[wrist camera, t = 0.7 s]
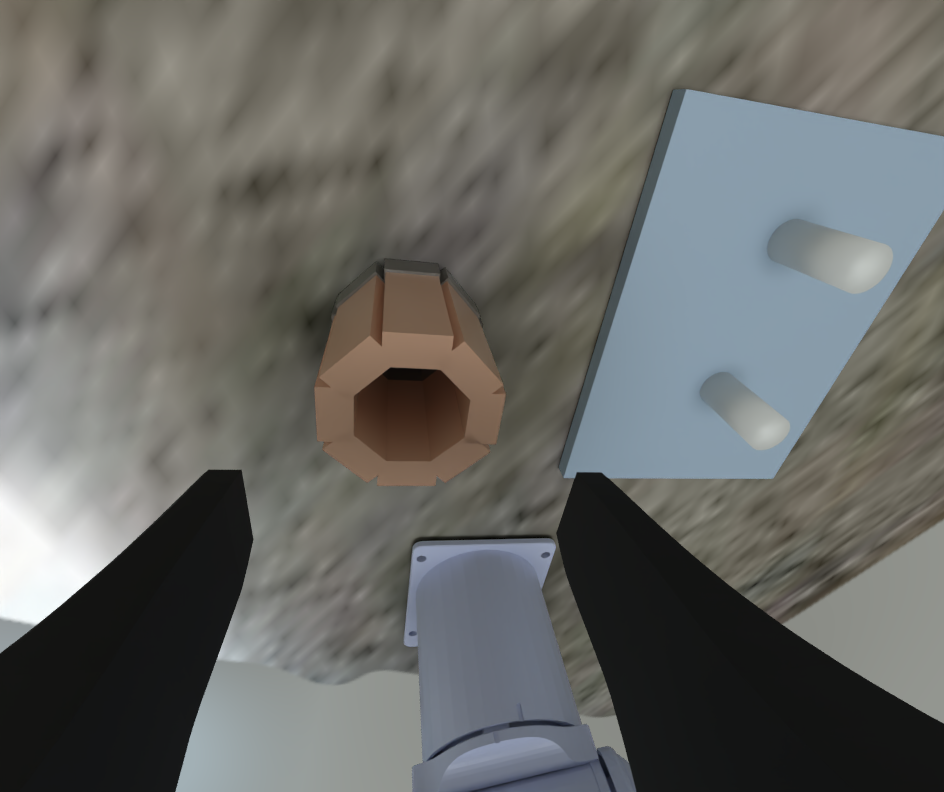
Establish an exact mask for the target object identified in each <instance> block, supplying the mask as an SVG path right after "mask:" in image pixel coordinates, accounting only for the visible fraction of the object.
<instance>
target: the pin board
mask: <svg viewBox="0 0 944 792" xmlns="http://www.w3.org/2000/svg"><path fill="white" fill-rule="evenodd" d="M943 210H944V137H943V136H938V135H933V134H927V133H922V132H916V131H911V130H905V129H900V128H895V127H889V126H884V125H878V124H873V123H867V122H862V121H857V120H851V119H846V118H840V117H835V116H829V115H824V114H819V113H813V112H808V111H802V110H797V109H792V108H786V107H781V106H775V105H770V104H764V103H759V102H754V101H748V100H743V99H737V98H732V97H726V96H721V95H716V94H710V93H705V92H699V91H694V90H688V89H678V90H673V92H672V96H671V99H670V102H669V106H668V109H667V112H666V115H665V119H664V122H663V125H662V129H661V132H660V135H659V138H658V142H657V145H656V148H655V152H654V155H653V158H652V161H651V165H650V168H649V171H648V175H647V178H646V181H645V185H644V188H643V191H642V194H641V198H640V201H639V204H638V208H637V211H636V214H635V217H634V221H633V224H632V227H631V231H630V234H629V237H628V240H627V244H626V247H625V250H624V254H623V257H622V260H621V263H620V267H619V270H618V273H617V277H616V280H615V283H614V287H613V290H612V293H611V296H610V300H609V303H608V306H607V310H606V313H605V316H604V319H603V323H602V326H601V329H600V333H599V336H598V339H597V342H596V346H595V349H594V352H593V356H592V359H591V362H590V366H589V369H588V372H587V375H586V379H585V382H584V385H583V389H582V392H581V395H580V398H579V402H578V405H577V408H576V412H575V415H574V418H573V421H572V425H571V428H570V431H569V435H568V438H567V441H566V444H565V448H564V451H563V454H562V458H561V461H560V464H559V469H560V471H561V474H562V476H563V478H575V476H576V473H577V472H602V473H603V474H604V475H605V476H606V477H607V478H709V479H773V478H774V476H775V474H776V473H777V471H778V470H779V468H780V467H781V465H782V463H783V462H784V460H785V459H786V457H787V456H788V454H789V452H790V451H791V449H792V448H793V446H794V445H795V443H796V441H797V440H798V438H799V437H800V435H801V434H802V432H803V430H804V429H805V427H806V426H807V424H808V423H809V421H810V419H811V418H812V416H813V415H814V413H815V412H816V410H817V408H818V407H819V405H820V404H821V402H822V401H823V399H824V397H825V396H826V394H827V393H828V391H829V390H830V388H831V386H832V385H833V383H834V382H835V380H836V378H837V377H838V375H839V374H840V372H841V371H842V369H843V367H844V366H845V364H846V363H847V361H848V360H849V358H850V356H851V355H852V353H853V352H854V350H855V349H856V347H857V345H858V344H859V342H860V341H861V339H862V338H863V336H864V334H865V333H866V331H867V330H868V328H869V327H870V325H871V323H872V322H873V320H874V319H875V317H876V316H877V314H878V312H879V311H880V309H881V308H882V306H883V305H884V303H885V301H886V300H887V298H888V297H889V295H890V294H891V292H892V290H893V289H894V287H895V286H896V284H897V283H898V281H899V279H900V278H901V276H902V275H903V273H904V272H905V270H906V268H907V267H908V265H909V264H910V262H911V261H912V259H913V257H914V256H915V254H916V253H917V251H918V250H919V248H920V246H921V245H922V243H923V242H924V240H925V238H926V237H927V235H928V234H929V232H930V231H931V229H932V227H933V226H934V224H935V223H936V221H937V220H938V218H939V216H940V215H941V213H942V212H943Z"/></svg>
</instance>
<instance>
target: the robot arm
mask: <svg viewBox="0 0 944 792" xmlns="http://www.w3.org/2000/svg"><path fill="white" fill-rule="evenodd" d="M556 534H557V538H558V543H559V547H560V552H561V556H562V560H563V564H564V568H565V572H566V575H567V578H568V581H569V584H570V587H571V589H572V592H573V595H574V597H575V600H576V603H577V606H578V608H579V611H580V613H581V616H582V619H583V621H584V624H585V627H586V629H587V632H588V635H589V637H590V640H591V642H592V645H593V648H594V650H595V653H596V656H597V658H598V661H599V664H600V666H601V669H602V671H603V674H604V677H605V680H606V683H607V686H608V689H609V692H610V695H611V698H612V702H613V706H614V709H615V713H616V716H617V720H618V724H619V727H620V731H621V734H622V737H623V741H624V745H625V748H626V752H627V757H628V761H629V763H628V762H627V761H626V760H625V759H624V758H622V757H621V756H620V755H618V754H617V753H616V752H615V751H614V749H613V748H611V747H609V746H605V747H601V748H597V751H596V748H595V745H594V741H593V738H592V735H591V732H590V729H589V726H588V725H587V724H583V725H582V723H581V720H580V716H579V713H578V710H577V706H576V703H575V700H574V696H573V693H572V690H571V686H570V683H569V680H568V676H567V673H566V670H565V666H564V663H563V660H562V656H561V653H560V650H559V646H558V643H557V640H556V636H555V633H554V630H553V626H552V623H551V620H550V616H549V613H548V610H547V606H546V603H545V600H544V596H543V593H542V587H543V584H544V581H545V578H546V575H547V572H548V569H549V566H550V564H551V561H552V558H553V555H554V552H555V549H556V545H555V542H554V541H553V540H552V539H550V538H531V539H488V540H444V541H419V542H417V543H415V544H414V545H413V547H412V557H411V567H410V578H409V588H408V599H407V609H406V619H405V630H404V644H405V645H406V646H408V647H416V646H418V662H419V685H420V707H421V708H420V709H421V733H422V756H423V763H421V764H417V765H414V766H413V767H412V783H413V784H412V785H413V792H944V724H943V723H942V722H940V721H938V720H936V719H934V718H932V717H930V716H929V715H927V714H925V713H923V712H921V711H920V710H918V709H916V708H914V707H913V706H911V705H909V704H908V703H906V702H904V701H902V700H901V699H899V698H897V697H896V696H894V695H892V694H890V693H889V692H887V691H885V690H884V689H882V688H880V687H878V686H876V685H875V684H873V683H872V682H870V681H868V680H867V679H865V678H863V677H862V676H860V675H858V674H857V673H855V672H853V671H852V670H850V669H849V668H847V667H845V666H844V665H842V664H841V663H839V662H837V661H836V660H834V659H833V658H831V657H830V656H828V655H827V654H825V653H824V652H822V651H821V650H819V649H818V648H816V647H815V646H813V645H811V644H810V643H808V642H807V641H805V640H804V639H802V638H801V637H799V636H798V635H796V634H795V633H793V632H792V631H790V630H789V629H788V628H786V627H785V626H783V625H782V624H780V623H779V622H778V621H776V620H775V619H773V618H772V617H771V616H769V615H768V614H767V613H765V612H764V611H763V610H761V609H760V608H758V607H757V606H756V605H754V604H753V603H752V602H750V601H749V600H748V599H746V598H745V597H744V596H742V595H741V594H740V593H738V592H737V591H736V590H734V589H733V588H732V587H731V586H729V585H728V584H727V583H726V582H724V581H723V580H722V579H721V578H719V577H718V576H717V575H716V574H715V573H713V572H712V571H711V570H710V569H709V568H707V567H706V566H705V565H704V564H702V563H701V562H700V561H699V560H698V559H696V558H695V557H694V556H693V555H692V554H691V553H690V552H688V551H687V550H686V549H685V548H684V547H683V546H681V545H680V544H679V543H678V542H677V541H676V540H675V539H674V538H672V537H671V536H670V535H669V534H668V533H667V532H666V531H665V530H664V529H663V528H661V527H660V526H659V525H658V524H657V523H656V522H655V521H654V520H653V519H652V518H651V517H649V516H648V515H647V514H646V513H645V512H644V511H643V510H642V509H641V508H640V507H639V506H638V505H637V504H636V503H634V502H633V501H632V500H631V499H630V498H629V497H628V496H627V495H626V494H625V493H624V492H623V491H622V490H621V489H620V488H618V487H617V486H616V485H615V484H614V483H613V482H612V481H611V480H610V479H609V478H607V477H606V476H605V475H604V474H603V473H602V472H577V473H576V476H575V479H574V482H573V485H572V488H571V491H570V494H569V497H568V500H567V503H566V506H565V509H564V512H563V515H562V518H561V521H560V524H559V527H558V530H557V533H556ZM252 543H253V535H252V529H251V523H250V517H249V511H248V505H247V499H246V493H245V488H244V482H243V476H242V470H208V471H207V472H205V473H204V474H203V475H202V476H201V477H200V478H199V479H198V480H197V481H196V482H195V483H194V484H193V485H192V486H191V487H190V488H189V489H188V490H187V491H186V492H185V493H184V494H183V495H182V496H181V497H179V498H178V499H177V500H176V501H175V502H174V503H173V504H172V505H171V506H170V507H169V508H168V509H167V510H166V511H165V512H164V513H163V514H162V515H161V516H160V517H159V518H158V519H157V520H156V521H155V522H154V523H153V524H152V525H151V526H150V527H149V528H147V529H146V530H145V531H144V532H143V533H142V534H141V535H140V536H139V537H138V538H137V539H136V540H135V541H133V542H132V543H131V544H130V545H129V546H128V547H127V548H126V549H125V550H124V551H123V552H122V553H121V554H120V555H118V556H117V557H116V558H115V559H114V560H113V561H112V562H111V563H110V564H108V565H107V566H106V567H105V568H104V569H103V570H102V571H100V572H99V573H98V574H97V575H96V576H95V577H93V578H92V579H91V580H90V581H89V582H88V583H86V584H85V585H84V586H83V587H82V588H81V589H79V590H78V591H77V592H76V593H75V594H74V595H72V596H71V597H70V598H69V599H68V600H67V601H66V602H64V603H63V604H62V605H61V606H60V607H58V608H57V609H56V610H55V611H53V612H52V613H51V614H50V615H49V616H47V617H46V618H45V619H44V620H42V621H41V622H40V623H39V624H37V625H36V626H35V627H34V628H32V629H31V630H30V631H29V632H27V633H26V634H25V635H24V636H22V637H21V638H20V639H18V640H17V641H16V642H15V643H13V644H12V645H11V646H9V647H8V648H7V649H5V650H4V651H3V652H1V653H0V792H175V791H176V787H177V783H178V780H179V776H180V772H181V768H182V765H183V761H184V757H185V753H186V750H187V746H188V742H189V738H190V735H191V731H192V728H193V725H194V722H195V719H196V716H197V713H198V710H199V707H200V704H201V701H202V698H203V695H204V692H205V690H206V687H207V684H208V682H209V679H210V676H211V673H212V671H213V668H214V665H215V662H216V660H217V657H218V654H219V651H220V649H221V646H222V643H223V640H224V638H225V635H226V632H227V629H228V626H229V624H230V621H231V618H232V615H233V612H234V610H235V607H236V604H237V601H238V598H239V595H240V593H241V590H242V586H243V582H244V578H245V574H246V570H247V566H248V561H249V557H250V552H251V548H252Z"/></svg>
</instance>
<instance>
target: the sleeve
mask: <svg viewBox="0 0 944 792" xmlns="http://www.w3.org/2000/svg"><path fill="white" fill-rule="evenodd" d="M331 316H332V326H331V330H330V333H329V337H328V340H327V344H326V347H325V351H324V354H323V358H322V362H321V365H320V369H319V372H318V376H317V379H316V383H315V386H314V390H315V408H316V426H317V441H324V444H323V449H322V450H323V451H325V452H326V453H327V454H329V455H330V456H331V457H333V458H334V459H336V460H337V461H338V462H340V463H341V464H342V465H344V466H345V467H346V468H348V469H349V470H351V471H352V472H353V473H355V474H356V475H357V476H359V477H360V478H361V479H363V480H364V481H365V482H367V483H368V482H369V481H371V480H372V479H373V478H375V477H376V476H378V479H377V486H435V484H436V476H437V477H439V478H440V479H441V480H442V481H443V482H445V483H446V482H447V481H449V480H450V479H452V478H453V477H455V476H456V475H458V474H459V473H461V472H462V471H464V470H465V469H466V468H468V467H469V466H471V465H472V464H474V463H475V462H477V461H478V460H480V459H481V458H483V457H484V456H486V455H487V454H489V453H490V448H489V445H488V444H496V442H497V437H498V432H499V428H500V423H501V418H502V413H503V408H504V403H505V398H506V393H505V390H504V387H503V382H502V379H501V377H500V374H499V372H498V369H497V366H496V364H495V361H494V358H493V356H492V353H491V351H490V348H489V345H488V343H487V340H486V338H485V335H484V332H483V330H482V326H483V324H482V321H481V319H480V317H481V316H480V314H479V311H478V309H477V306H476V304H475V303H474V302H473V301H472V299H471V298H470V297H469V296H468V295H467V293H466V292H465V291H464V290H463V288H462V287H461V286H460V285H459V284H458V282H457V281H456V280H455V279H454V278H453V276H452V275H451V274H450V273H449V272H448V270H447V269H446V268H444V269H443V270H441V271H440V270H439V267H438V264H437V263H427V262H416V261H405V260H394V259H385V264H384V269H383V268H382V267H381V266H380V264H379V263H378V262H377V261H376V262H375V263H374V264H373V265H372V266H370V267H369V268H368V269H367V270H366V271H365V272H364V273H362V274H361V275H360V276H359V277H358V278H357V279H355V280H354V281H353V282H352V283H351V284H350V285H348V286H347V287H346V288H345V289H344V290H343V291H342V292H340V293H339V294H338V297H337V301H335V304H334V307H333V310H332V314H331Z"/></svg>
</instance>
